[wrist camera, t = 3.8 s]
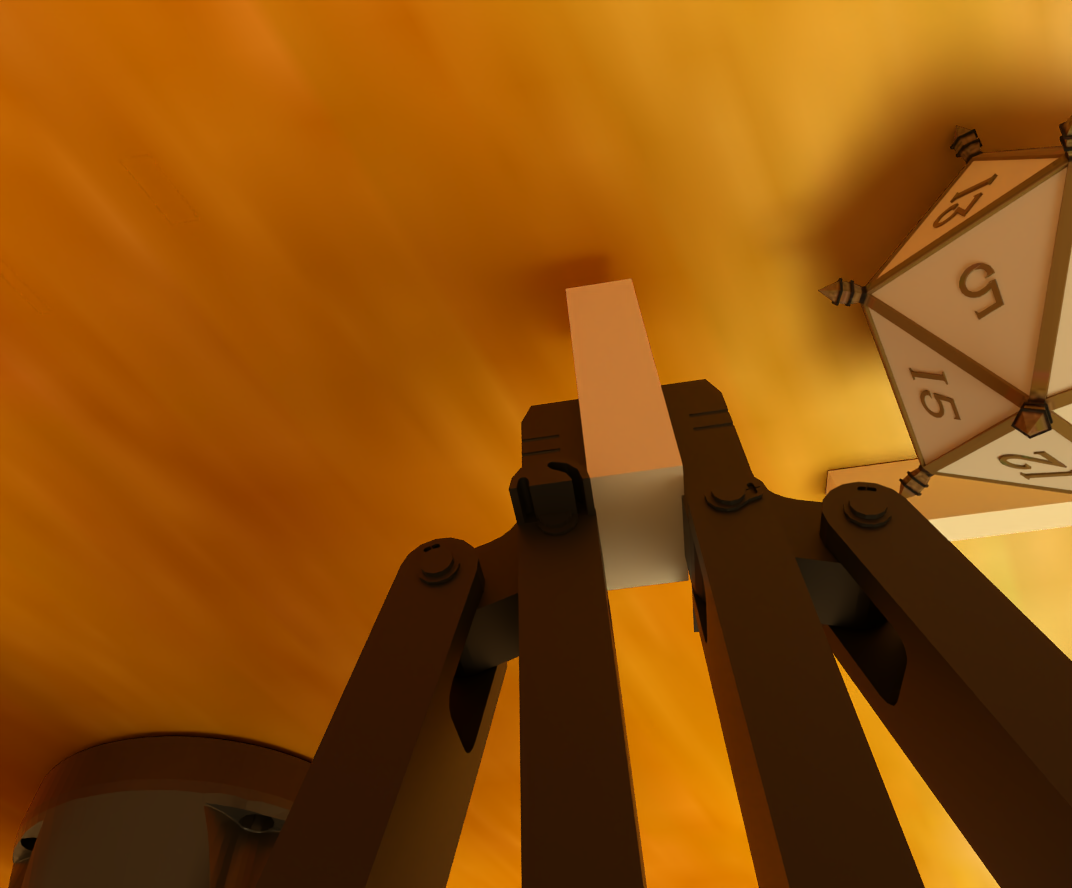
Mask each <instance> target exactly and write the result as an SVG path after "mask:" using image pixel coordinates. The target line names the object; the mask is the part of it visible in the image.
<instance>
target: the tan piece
mask: <svg viewBox="0 0 1072 888" xmlns="http://www.w3.org/2000/svg"><path fill="white" fill-rule="evenodd" d="M919 465H920V463H919V460H918V459H915V460H907V461H900V462H892V463H885V464H877V465H870V466H862V467H855V468H847V469H840V470H832V471H828V477H827V487H826V495H827V494H828V493H829V491H830V490H832V489H834V488H836V487H838V486H840V485H842V484H847V483H853V482H869V483H877V484H880V485H883V486H886V487H888V488H891V489H893V490H895V491H896V492H898V493H899V491H900V483H901V482H900V481H899V479H900V478H901V479H904V478H905V477H906V476H907V475H908V474H907V472H908V471H909V472H912V471H913V470H915V469H917V468H918V467H919ZM928 485H929V486H928V487H927V488H924V489H923V490H922V491H921V492H920V493H922V495H921V496H917V495H915V496H912V497H909V498H906V499H907V500H908V501H909V502H910V503H911V504H912V505H913V506H914V507H915V508H916V509H917V510H918V511H919V512H920V513H921V514H922V515H923V516H924V517H925V518H926V519H927V520H928V521H929V522H930V523H931V524H933V525H934V526H935V527H936V528H937V529H938V530H939V531H940V532H941V533H942V534H943V535H944V536H945V537H946V538H947V539H948V540H949V541H957V540H965V539H973V538H981V537H989V536H997V535H1005V534H1013V533H1021V532H1029V531H1037V530H1045V529H1053V528H1061V527H1069V526H1072V494H1067V493H1059V492H1052V491H1045V490H1038V489H1031V488H1024V487H1017V486H1010V485H1003V484H996V483H989V482H982V481H975V480H968V479H961V478H954V477H947V476H939V475H933V476H932V477H931V478H930V480H929V482H928Z"/></svg>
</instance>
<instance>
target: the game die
mask: <svg viewBox="0 0 1072 888" xmlns="http://www.w3.org/2000/svg"><path fill="white" fill-rule="evenodd" d="M1059 128H1060V130H1061V133H1062V136H1060V141H1061V144H1062V146H1055V147H1044V148H1032V149H1021V150H1010V151H999V152H988V153H983V152H981V149H980V147H981V146H982V144H981V141H980V139H979V138H978V139H977V137H978V136H977V133H976V131H975V129H974V130H968V129H965V128H962V127H960V126H957V125H956V131H955V136H954V142H953V144H952V146H951V147H950V148H951V149H955V150H956V152H957V154H956V157H961V158H963V159H964V160H965V161H966V166H965V167H964V168H963V169H962V170H961V172H960V173H959V174H958V175H957V177H956V178H955V179H954V180H953V181H952V183H951V184H950V185H949V186H948V187H947V189H946V190H945V191H944V192H943V193H942V195H941V196H940V197H939V198H938V199H937V201H936V202H935V203H934V204H933V206H932V207H931V208H930V209H929V210H928V212H927V213H926V214H925V215H924V216H923V218H922V219H921V220H920V221H919V222H918V224H917V225H916V226H915V227H914V228H913V230H912V231H911V232H910V233H909V235H908V236H907V237H906V238H905V239H904V241H903V242H902V243H901V244H900V245H899V247H898V248H897V249H896V250H895V251H894V253H893V254H892V255H891V256H890V257H889V259H888V260H887V261H886V262H885V264H884V265H883V266H882V267H881V268H880V270H879V271H878V272H877V273H876V274H875V276H874V277H873V278H872V279H871V280H870V282H869V283H868V284H867V285H866V286H864V287H861V286H858V285H856V284H854V281H853V280H851V281H850V282H844V281H842V278H839V280H838V281H837V282H835V283H833V284H831V285H829V286H827V287H824V288H822V289H820V290H818V291H819V292H821V293H822V294H824V295H825V296H826V297H828V298H829V299H831V300H832V303H833V304H834V305H837V306H838V305H839V303H840V304H845V305H846V306H850V304H853V303H861V306H862V308H863V311H864V314H865V316H866V319H867V322H868V325H869V327H870V330H871V333H872V335H873V338H874V341H875V344H876V346H877V349H878V352H879V354H880V357H881V360H882V363H883V365H884V368H885V371H886V373H887V376H888V379H889V382H890V384H891V387H892V390H893V392H894V395H895V398H896V400H897V403H898V406H899V409H900V411H901V414H902V417H903V419H904V422H905V425H906V428H907V430H908V433H909V436H910V438H911V441H912V444H913V447H914V449H915V452H916V455H917V457H918V460H919V463H920V465H919V467H918V468H917V469H915V470H913V471H912V472H909V471H908V472H907V474H908V475H907V476H906V477H905V478H904V479H901V478H900V479H899V481H900V482H901V483H900V491H899V494H901V495H902V496H903V497H905V498H909V497H912V496H915V495H917V496H921V495H922V493H920V492H921V491H922V490H923V489H924V488H927V487H928V486H929V485H928V482H929V480H930V478H931V477H932V476H933V475H939V476H947V477H954V478H961V479H968V480H975V481H982V482H989V483H996V484H1003V485H1010V486H1017V487H1024V488H1031V489H1038V490H1045V491H1052V492H1059V493H1067V494H1072V116H1071V117H1070V118H1069V119H1068V120H1067V121H1066V122H1064V123H1062V124H1060V125H1059Z"/></svg>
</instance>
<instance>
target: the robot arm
mask: <svg viewBox="0 0 1072 888" xmlns="http://www.w3.org/2000/svg"><path fill="white" fill-rule="evenodd" d="M566 297H567V305H568V313H569V322H570V330H571V338H572V347H573V355H574V364H575V372H576V380H577V389H578V397H579V399H576V400H569V401H562V402H555V403H548V404H541V405H534V406H531V407H530V409H529V411H528V412H527V414H526V416H525V417H524V419H523V421H522V422H521V430H522V468H520V470H519V471H518V472H517V473H516V474H515V475H514V476H513V477H512V480H511V483H510V487H509V492H510V496H511V500H512V504H513V508H514V512H515V516H516V520H517V523H516V524H515V525H514V526H513V527H512V529H511V530H509V531H508V532H507V533H506V534H504V535H503V536H502V537H500V538H498V539H496V540H494V541H492V542H489V543H487V544H484V545H482V546H479V547H477V548H473V547H472V546H471V545H469V544H468V543H466V542H465V541H464V540H459V539H454V538H442V539H435V540H432V541H430V542H427V543H424V544H422V545H420V546H419V547H417V548H416V549H415V550H413V551H412V552H411V553H409V555H408V556H407V557H406V559H405V560H404V562H403V563H402V564H401V566H400V569H399V571H398V573H397V575H396V577H395V580H394V582H393V584H392V586H391V588H390V591H389V593H388V595H387V597H386V599H385V602H384V604H383V606H382V608H381V611H380V613H379V615H378V617H377V619H376V622H375V624H374V626H373V628H372V630H371V633H370V635H369V637H368V639H367V641H366V644H365V646H364V648H363V650H362V652H361V655H360V657H359V659H358V661H357V664H356V666H355V668H354V670H353V672H352V675H351V677H350V679H349V681H348V683H347V686H346V688H345V690H344V692H343V694H342V697H341V699H340V701H339V703H338V706H337V708H336V710H335V712H334V714H333V717H332V719H331V721H330V723H329V725H328V728H327V730H326V732H325V734H324V736H323V739H322V741H321V743H320V745H319V747H318V750H317V752H316V754H315V756H314V759H313V761H312V763H309V762H306V761H304V760H301V759H299V758H296V757H293V756H290V755H288V754H284V753H281V752H278V751H275V750H271V749H267V748H264V747H259V746H255V745H250V744H245V743H240V742H235V741H228V740H221V739H212V738H201V737H180V736H167V737H147V738H136V739H129V740H122V741H117V742H112V743H107V744H103V745H99V746H96V747H93V748H90V749H87V750H84V751H82V752H79V753H77V754H75V755H73V756H71V757H69V758H67V759H66V760H64V761H62V762H61V763H59V764H58V765H57V766H55V767H54V768H53V769H52V770H51V771H50V772H49V773H48V774H47V776H46V777H45V778H44V780H43V782H42V783H41V785H40V787H39V789H38V791H37V793H36V795H35V797H34V799H33V801H32V803H31V805H30V807H29V809H28V811H27V813H26V815H25V817H24V819H23V821H22V823H21V826H20V828H19V831H18V834H17V837H16V840H15V845H14V851H13V863H14V865H13V869H12V873H11V878H10V883H9V887H8V888H446V884H447V881H448V877H449V874H450V870H451V866H452V863H453V859H454V856H455V852H456V848H457V845H458V841H459V838H460V834H461V830H462V827H463V823H464V820H465V816H466V812H467V809H468V805H469V802H470V798H471V794H472V791H473V787H474V784H475V780H476V776H477V773H478V769H479V766H480V762H481V758H482V755H483V751H484V748H485V744H486V740H487V737H488V733H489V730H490V726H491V722H492V719H493V715H494V712H495V708H496V704H497V701H498V697H499V694H500V690H501V686H502V683H503V679H504V676H505V672H506V668H507V661H509V660H511V659H513V658H516V657H518V656H519V689H520V777H521V865H522V888H647V885H646V878H645V870H644V863H643V855H642V847H641V840H640V832H639V825H638V817H637V809H636V802H635V794H634V786H633V779H632V771H631V764H630V756H629V748H628V741H627V733H626V726H625V718H624V710H623V703H622V695H621V688H620V680H619V672H618V665H617V657H616V650H615V642H614V634H613V627H612V619H611V612H610V605H609V599H608V591H607V590H614V589H622V588H630V587H638V586H646V585H655V584H663V583H671V582H679V581H687V580H688V570H689V575H690V579H691V583H692V596H693V618H694V632H699V633H700V637H701V642H702V646H703V650H704V654H705V659H706V663H707V667H708V671H709V676H710V680H711V684H712V689H713V693H714V697H715V701H716V706H717V710H718V714H719V718H720V723H721V727H722V731H723V736H724V740H725V744H726V748H727V753H728V757H729V761H730V765H731V770H732V774H733V778H734V783H735V787H736V791H737V795H738V800H739V804H740V808H741V813H742V817H743V821H744V825H745V830H746V834H747V838H748V842H749V847H750V851H751V855H752V860H753V864H754V868H755V872H756V877H757V881H758V885H759V888H925V887H924V884H923V882H922V879H921V877H920V874H919V872H918V869H917V866H916V864H915V861H914V859H913V856H912V854H911V851H910V849H909V846H908V844H907V841H906V839H905V836H904V833H903V831H902V828H901V826H900V823H899V821H898V818H897V816H896V813H895V811H894V808H893V805H892V803H891V800H890V798H889V795H888V793H887V790H886V788H885V785H884V783H883V780H882V777H881V775H880V772H879V770H878V767H877V765H876V762H875V760H874V757H873V755H872V752H871V749H870V747H869V744H868V742H867V739H866V737H865V734H864V732H863V729H862V727H861V724H860V721H859V719H858V716H857V714H856V711H855V709H854V706H853V704H852V701H851V699H850V696H849V693H848V691H847V688H846V686H845V683H844V681H843V678H842V676H841V673H840V671H839V668H838V665H837V663H836V660H835V658H834V655H835V657H836V658H837V659H838V661H839V662H840V664H841V665H842V666H843V668H844V669H845V671H846V672H847V673H848V675H849V676H850V678H851V679H852V680H853V682H854V683H855V685H856V686H857V687H858V689H859V690H860V692H861V693H862V694H863V696H864V697H865V699H866V700H867V701H868V703H869V704H870V706H871V707H872V708H873V710H874V711H875V713H876V714H877V715H878V717H879V718H880V720H881V721H882V722H883V724H884V725H885V727H886V728H887V729H888V731H889V732H890V734H891V735H892V736H893V738H894V739H895V741H896V742H897V743H898V745H899V746H900V748H901V749H902V750H903V752H904V753H905V755H906V756H907V757H908V759H909V760H910V762H911V763H912V764H913V766H914V767H915V769H916V770H917V771H918V773H919V774H920V776H921V777H922V778H923V780H924V781H925V782H926V784H927V785H928V787H929V788H930V789H931V791H932V792H933V794H934V795H935V796H936V798H937V799H938V801H939V802H940V803H941V805H942V806H943V808H944V809H945V810H946V812H947V813H948V815H949V816H950V817H951V819H952V820H953V822H954V823H955V824H956V826H957V827H958V829H959V830H960V831H961V833H962V834H963V836H964V837H965V838H966V840H967V841H968V843H969V844H970V845H971V847H972V848H973V850H974V851H975V852H976V854H977V855H978V857H979V858H980V859H981V861H982V862H983V864H984V865H985V866H986V868H987V869H988V871H989V872H990V873H991V875H992V876H993V878H994V879H995V880H996V882H997V883H998V885H999V886H1000V887H1001V888H1072V661H1071V660H1070V659H1069V658H1068V657H1067V656H1066V655H1065V654H1064V653H1063V652H1062V651H1061V650H1060V649H1059V648H1058V647H1057V646H1056V645H1055V644H1054V643H1053V642H1052V641H1051V640H1050V639H1049V638H1048V637H1047V636H1046V635H1045V634H1044V633H1042V632H1041V631H1040V630H1039V629H1038V628H1037V627H1036V626H1035V625H1034V624H1033V623H1032V622H1031V621H1030V620H1029V619H1028V618H1027V617H1026V616H1025V615H1024V614H1023V613H1022V612H1021V611H1020V610H1019V609H1018V608H1017V607H1016V606H1015V605H1014V604H1013V603H1012V602H1011V601H1010V600H1009V599H1008V598H1007V597H1006V596H1005V595H1004V594H1003V593H1002V592H1001V591H1000V590H999V589H998V588H997V587H996V586H995V585H994V584H993V583H992V582H991V581H990V580H989V579H988V578H986V577H985V576H984V575H983V574H982V573H981V572H980V571H979V570H978V569H977V568H976V567H975V566H974V565H973V564H972V563H971V562H970V561H969V560H968V559H967V558H966V557H965V556H964V555H963V554H962V553H961V552H960V551H959V550H958V549H957V548H956V547H955V546H954V545H953V544H952V543H951V542H950V541H949V540H948V539H947V538H946V537H945V536H944V535H943V534H942V533H941V532H940V531H939V530H938V529H937V528H936V527H935V526H934V525H933V524H931V523H930V522H929V521H928V520H927V519H926V518H925V517H924V516H923V515H922V514H921V513H920V512H919V511H918V510H917V509H916V508H915V507H914V506H913V505H912V504H911V503H910V502H909V501H908V500H907V499H906V498H905V497H903V496H902V495H901V494H899V493H898V492H896V491H895V490H893V489H891V488H888V487H886V486H883V485H880V484H877V483H869V482H853V483H847V484H842V485H840V486H838V487H836V488H834V489H832V490H830V491H829V493H828V494H827V495H826V497H825V498H824V499H823V502H814V501H804V500H796V499H791V498H785V497H783V496H780V495H777V494H774V493H772V492H771V491H769V490H768V489H767V488H766V486H765V485H764V484H763V482H762V481H760V480H759V479H757V478H755V477H754V475H753V474H752V471H751V469H750V466H749V463H748V461H747V458H746V456H745V453H744V450H743V448H742V445H741V443H740V440H739V437H738V435H737V432H736V429H735V427H734V426H733V422H732V419H731V416H730V414H729V412H728V409H727V406H726V403H725V401H724V398H723V395H722V393H721V392H720V391H719V390H718V389H717V388H715V387H714V386H713V385H712V384H711V383H709V382H708V381H707V380H706V379H703V380H696V381H689V382H682V383H675V384H668V385H660V381H659V377H658V374H657V370H656V366H655V363H654V359H653V355H652V352H651V348H650V345H649V341H648V337H647V334H646V330H645V326H644V323H643V319H642V315H641V312H640V308H639V304H638V301H637V297H636V294H635V290H634V286H633V283H632V279H625V280H619V281H612V282H606V283H599V284H593V285H587V286H580V287H574V288H567V289H566ZM832 652H833V653H832ZM833 654H834V655H833Z"/></svg>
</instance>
